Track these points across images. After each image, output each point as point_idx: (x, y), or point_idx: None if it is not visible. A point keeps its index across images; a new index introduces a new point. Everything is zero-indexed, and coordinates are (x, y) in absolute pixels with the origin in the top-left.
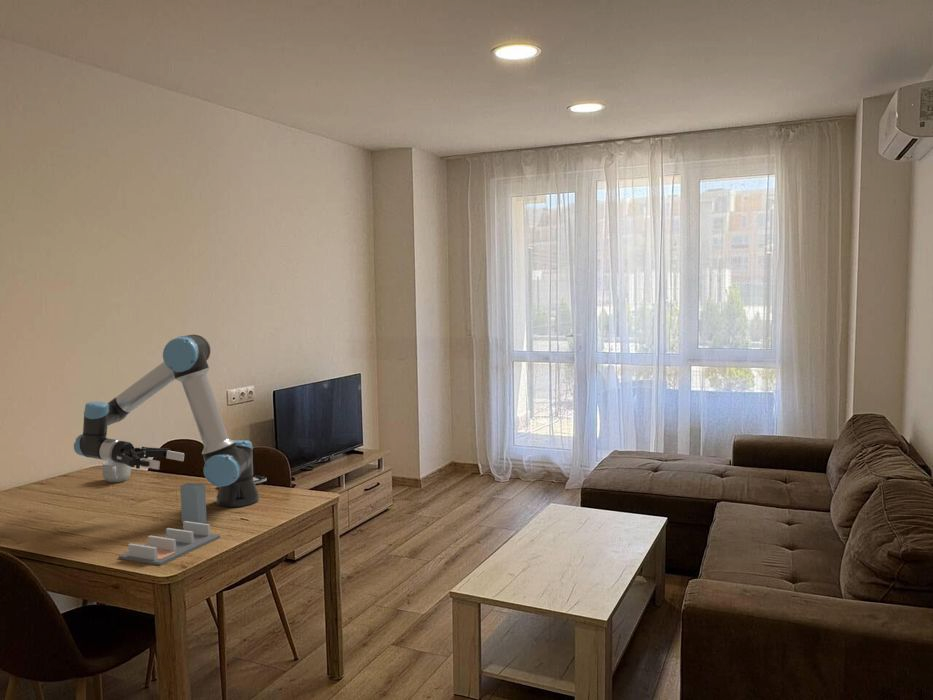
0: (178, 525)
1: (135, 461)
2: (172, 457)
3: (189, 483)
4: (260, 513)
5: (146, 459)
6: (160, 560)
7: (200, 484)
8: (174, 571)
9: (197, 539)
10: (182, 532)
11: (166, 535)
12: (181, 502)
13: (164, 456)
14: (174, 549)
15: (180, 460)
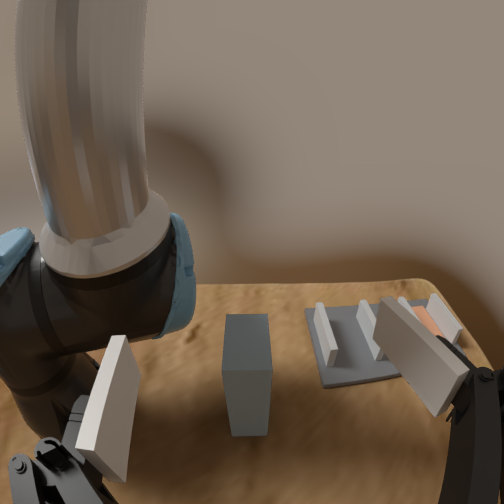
0: (288, 428)
1: (497, 370)
2: (124, 428)
3: (233, 359)
4: None
5: (443, 344)
6: (423, 303)
7: (232, 324)
8: (417, 282)
9: (343, 321)
10: (372, 314)
11: (383, 353)
12: (269, 404)
13: (112, 497)
14: None
15: (138, 383)
